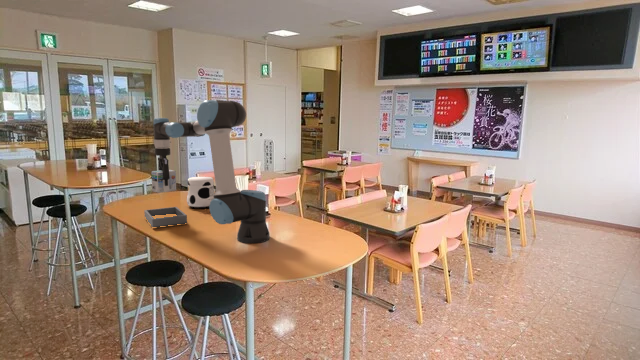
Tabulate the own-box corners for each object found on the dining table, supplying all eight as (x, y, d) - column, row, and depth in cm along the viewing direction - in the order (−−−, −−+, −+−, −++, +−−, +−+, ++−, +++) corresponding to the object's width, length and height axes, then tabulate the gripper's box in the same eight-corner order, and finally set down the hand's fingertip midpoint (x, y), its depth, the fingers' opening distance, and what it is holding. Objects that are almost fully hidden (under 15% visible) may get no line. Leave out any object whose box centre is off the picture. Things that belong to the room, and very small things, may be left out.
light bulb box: (158, 193, 200) (157, 172, 198) (151, 191, 204) (150, 171, 202) (177, 190, 208) (176, 170, 207) (170, 188, 213) (169, 169, 211)
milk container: (185, 204, 248) (184, 177, 245) (213, 202, 256) (212, 175, 253) (188, 210, 233) (187, 181, 230) (218, 208, 240) (217, 180, 237)
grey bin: (187, 224, 205) (186, 215, 204) (152, 229, 195) (152, 219, 194) (176, 215, 223) (176, 206, 222) (144, 218, 213) (144, 210, 212)
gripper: (174, 149, 196) (176, 193, 200) (165, 145, 213) (167, 186, 217) (159, 149, 192) (161, 194, 196) (150, 146, 209) (153, 187, 213)
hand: (164, 190), depth 206 cm, fingers closed on light bulb box, 8 cm apart
